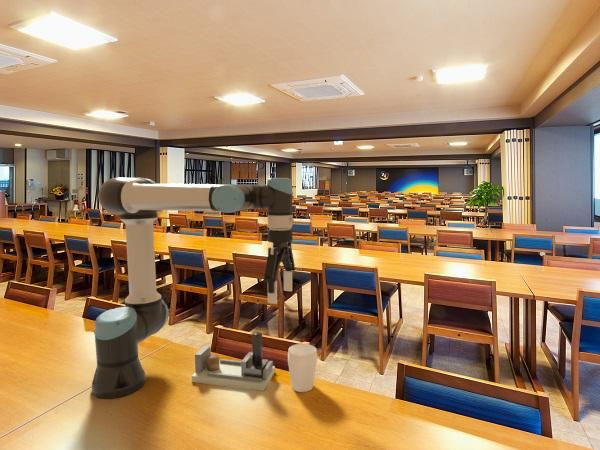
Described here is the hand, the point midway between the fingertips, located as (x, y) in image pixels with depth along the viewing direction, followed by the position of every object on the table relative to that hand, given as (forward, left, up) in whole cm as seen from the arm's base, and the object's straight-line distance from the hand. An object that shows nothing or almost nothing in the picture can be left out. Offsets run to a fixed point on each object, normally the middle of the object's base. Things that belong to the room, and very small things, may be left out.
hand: (280, 296), depth 117 cm
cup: (+7, -1, -28) cm, 29 cm away
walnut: (-23, 0, -26) cm, 35 cm away
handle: (-9, 0, -26) cm, 27 cm away
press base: (-16, 0, -28) cm, 32 cm away
